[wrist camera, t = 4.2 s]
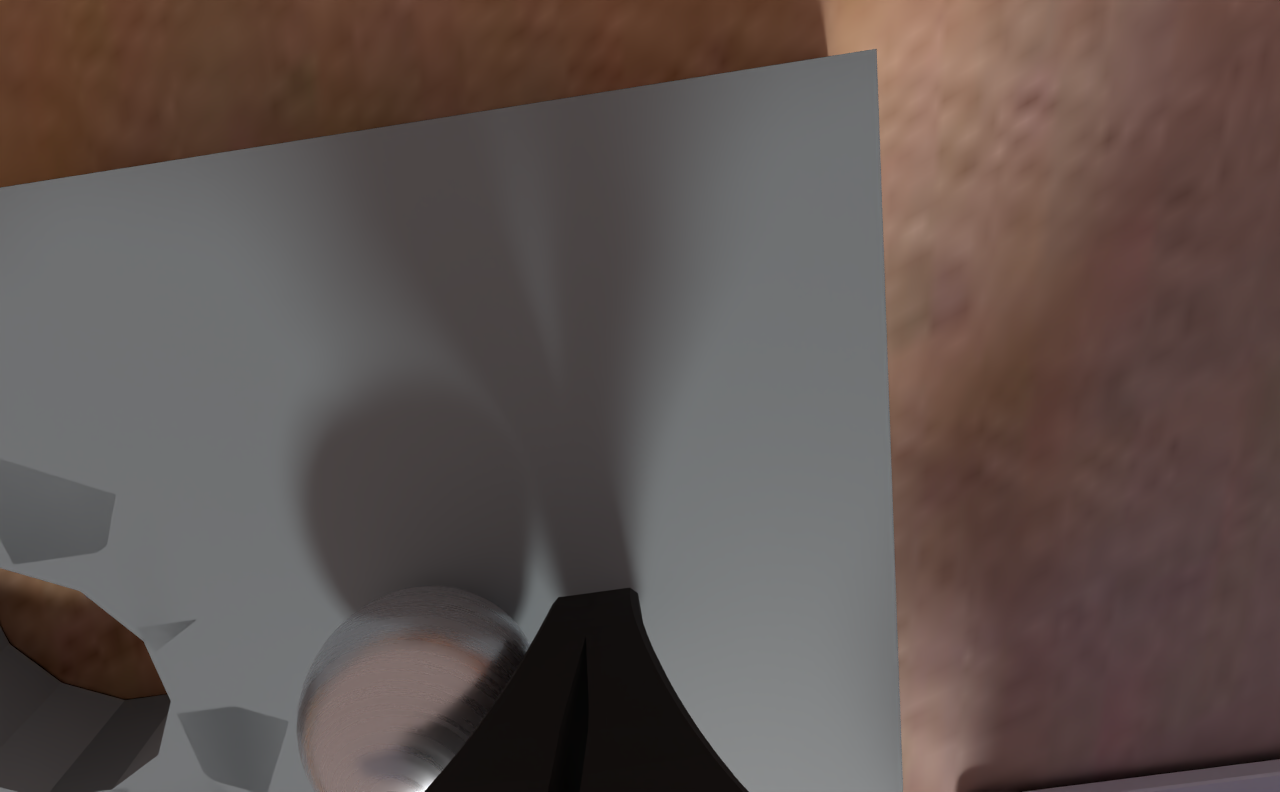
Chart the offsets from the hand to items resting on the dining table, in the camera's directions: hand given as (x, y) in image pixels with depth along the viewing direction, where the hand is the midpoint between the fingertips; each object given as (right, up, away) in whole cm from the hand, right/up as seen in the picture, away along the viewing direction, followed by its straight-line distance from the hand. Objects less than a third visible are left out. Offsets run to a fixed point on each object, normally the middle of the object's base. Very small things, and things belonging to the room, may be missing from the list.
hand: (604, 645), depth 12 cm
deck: (-5, 0, +3) cm, 6 cm away
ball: (-3, -1, -1) cm, 3 cm away
